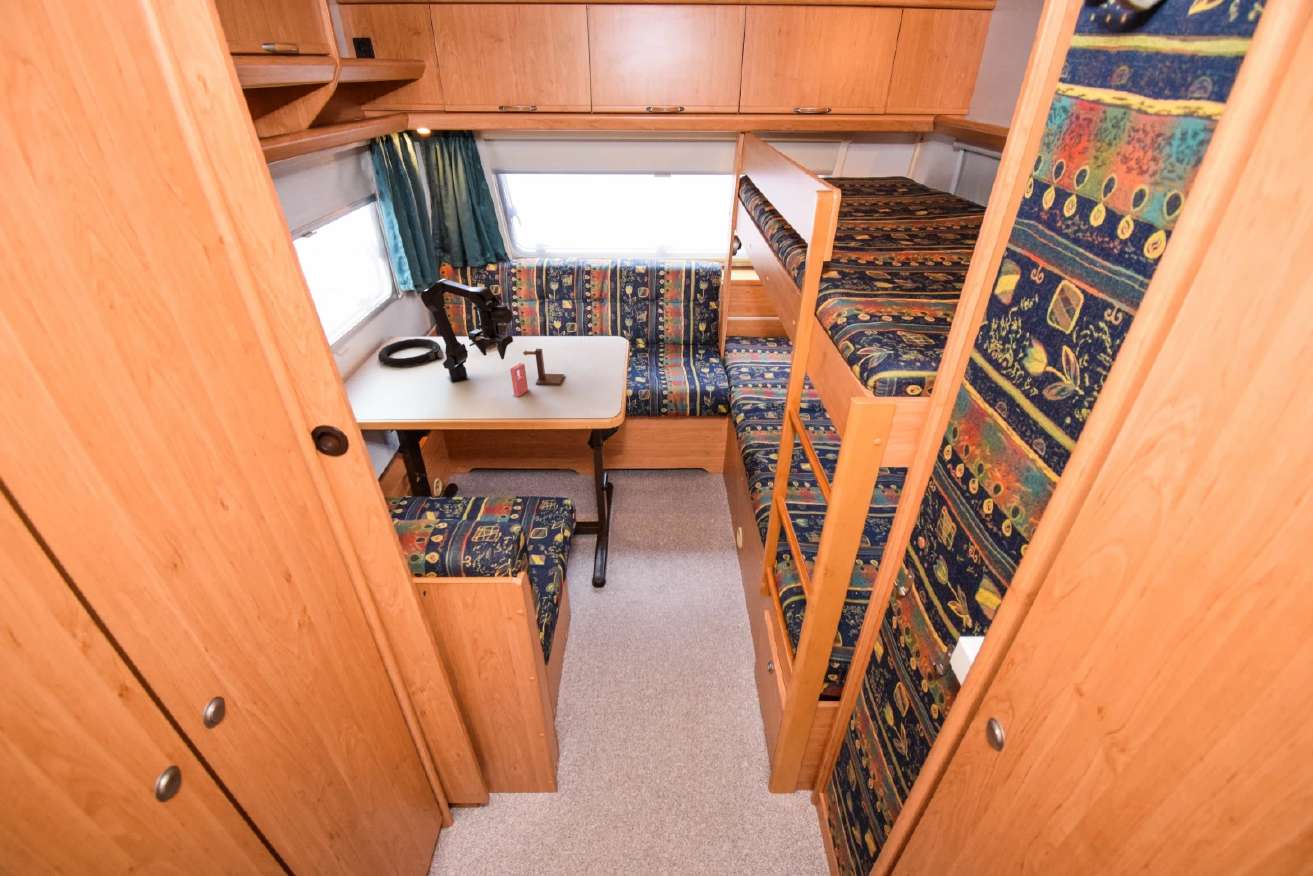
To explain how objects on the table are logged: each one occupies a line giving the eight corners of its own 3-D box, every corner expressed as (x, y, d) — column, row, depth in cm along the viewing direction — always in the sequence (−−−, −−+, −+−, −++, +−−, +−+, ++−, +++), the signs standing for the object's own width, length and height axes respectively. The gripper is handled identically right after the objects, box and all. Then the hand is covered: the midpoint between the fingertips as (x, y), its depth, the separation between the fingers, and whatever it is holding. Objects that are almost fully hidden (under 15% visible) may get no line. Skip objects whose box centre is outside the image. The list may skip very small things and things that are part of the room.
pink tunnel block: (514, 395, 237) (510, 368, 231) (523, 389, 242) (520, 362, 236) (518, 396, 237) (514, 369, 230) (528, 390, 241) (524, 363, 235)
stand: (524, 384, 246) (519, 353, 239) (529, 375, 254) (525, 345, 247) (559, 385, 245) (556, 354, 238) (564, 376, 253) (560, 345, 246)
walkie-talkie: (503, 335, 289) (480, 347, 272) (497, 343, 292) (473, 355, 275) (495, 326, 288) (471, 337, 271) (488, 334, 291) (464, 345, 274)
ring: (399, 335, 286) (455, 339, 281) (401, 342, 288) (456, 346, 283) (364, 357, 263) (424, 362, 258) (366, 365, 265) (426, 370, 260)
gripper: (518, 317, 233) (524, 353, 241) (482, 311, 241) (489, 346, 249) (500, 326, 225) (507, 363, 233) (464, 319, 232) (471, 356, 240)
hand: (494, 357), depth 239 cm, fingers open, 9 cm apart
